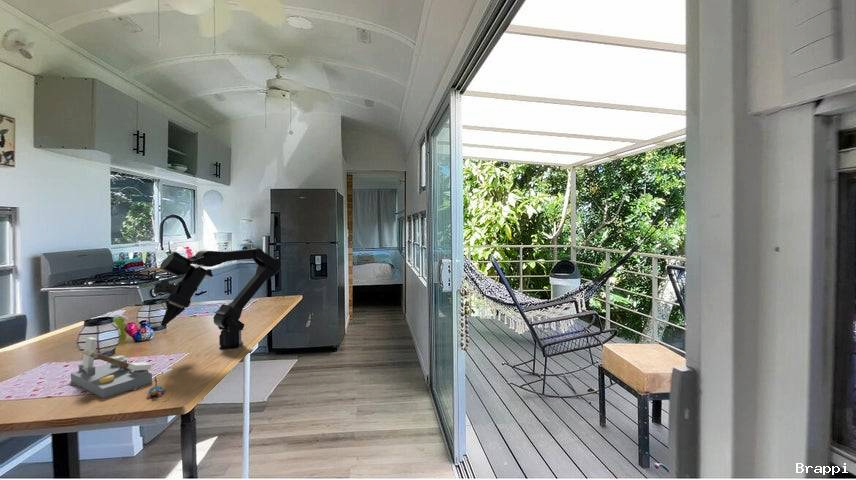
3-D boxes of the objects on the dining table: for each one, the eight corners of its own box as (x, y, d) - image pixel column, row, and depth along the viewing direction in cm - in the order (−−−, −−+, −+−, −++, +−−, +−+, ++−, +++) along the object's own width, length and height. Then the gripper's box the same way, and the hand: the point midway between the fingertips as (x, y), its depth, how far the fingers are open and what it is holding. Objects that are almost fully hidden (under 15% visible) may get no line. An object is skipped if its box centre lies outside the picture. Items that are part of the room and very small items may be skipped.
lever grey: (87, 366, 104) (91, 337, 105) (92, 368, 102) (97, 339, 103) (81, 367, 103) (86, 337, 104) (87, 369, 101) (91, 339, 102)
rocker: (143, 367, 104) (145, 362, 105) (150, 369, 103) (151, 364, 103) (127, 368, 101) (129, 363, 101) (134, 370, 99) (135, 365, 99)
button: (121, 361, 111) (121, 354, 111) (126, 363, 109) (126, 356, 109) (109, 365, 108) (108, 358, 108) (113, 366, 106) (113, 359, 106)
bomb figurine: (180, 390, 97) (179, 371, 97) (157, 403, 90) (157, 382, 89) (152, 390, 97) (151, 371, 97) (128, 403, 90) (127, 382, 90)
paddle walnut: (124, 362, 106) (86, 349, 99) (131, 364, 104) (93, 351, 97) (121, 366, 106) (83, 353, 98) (128, 368, 103) (89, 356, 96)
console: (118, 368, 112) (117, 354, 112) (152, 382, 101) (151, 366, 101) (71, 381, 102) (70, 366, 102) (102, 398, 92) (102, 381, 92)
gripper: (164, 275, 125) (135, 316, 118) (166, 269, 110) (133, 315, 104) (196, 288, 130) (170, 328, 123) (202, 284, 116) (173, 329, 109)
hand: (162, 325), depth 115 cm, fingers closed
